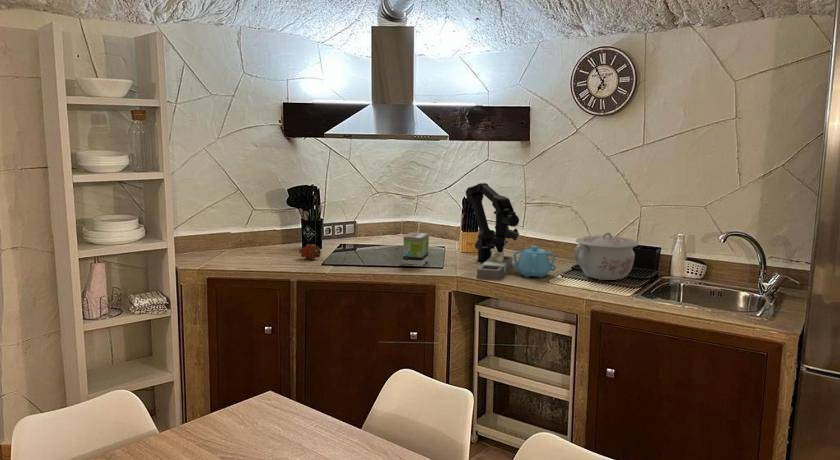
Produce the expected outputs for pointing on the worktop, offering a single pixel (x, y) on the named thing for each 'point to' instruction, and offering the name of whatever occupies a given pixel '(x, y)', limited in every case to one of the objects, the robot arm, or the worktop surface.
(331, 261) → the worktop surface
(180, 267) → the worktop surface
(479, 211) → the robot arm
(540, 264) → the decorative pot
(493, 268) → the trap deck
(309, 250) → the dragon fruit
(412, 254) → the tea box
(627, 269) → the chamber pot
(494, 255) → the cream block
